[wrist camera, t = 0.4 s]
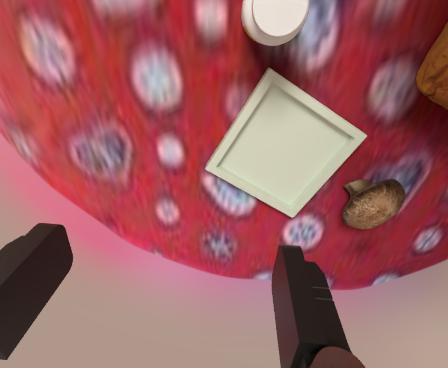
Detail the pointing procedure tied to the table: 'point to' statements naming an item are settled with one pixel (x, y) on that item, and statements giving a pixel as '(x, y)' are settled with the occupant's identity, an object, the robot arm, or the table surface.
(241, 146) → the tray
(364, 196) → the mushroom
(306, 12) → the supplement bottle
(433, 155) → the table surface
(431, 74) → the clay tablet
